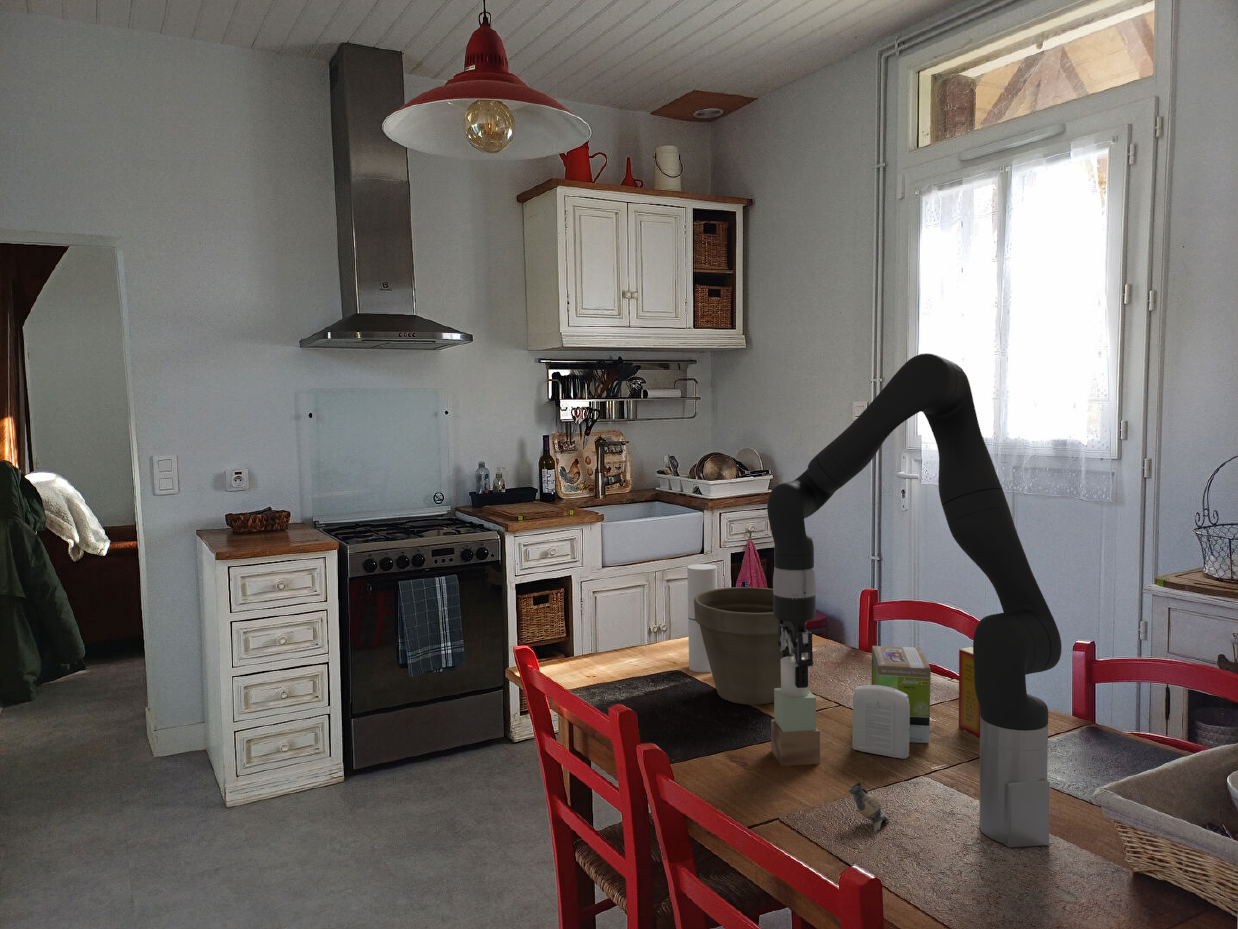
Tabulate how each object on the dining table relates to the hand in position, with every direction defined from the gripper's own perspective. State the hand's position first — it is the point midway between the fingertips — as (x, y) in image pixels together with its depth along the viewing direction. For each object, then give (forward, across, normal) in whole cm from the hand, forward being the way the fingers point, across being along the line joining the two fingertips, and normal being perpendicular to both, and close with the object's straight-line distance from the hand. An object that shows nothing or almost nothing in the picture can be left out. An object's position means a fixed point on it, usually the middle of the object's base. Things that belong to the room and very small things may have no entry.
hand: (794, 680), depth 163 cm
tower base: (+14, 0, 0) cm, 14 cm away
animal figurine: (+15, -26, -4) cm, 30 cm away
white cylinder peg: (+2, 0, 0) cm, 2 cm away
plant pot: (+14, +35, 0) cm, 38 cm away
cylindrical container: (+14, +56, +7) cm, 58 cm away
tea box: (+15, +11, -24) cm, 30 cm away
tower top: (+8, 0, 0) cm, 8 cm away
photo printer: (+15, 0, -16) cm, 22 cm away
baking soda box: (+14, +8, -41) cm, 44 cm away
